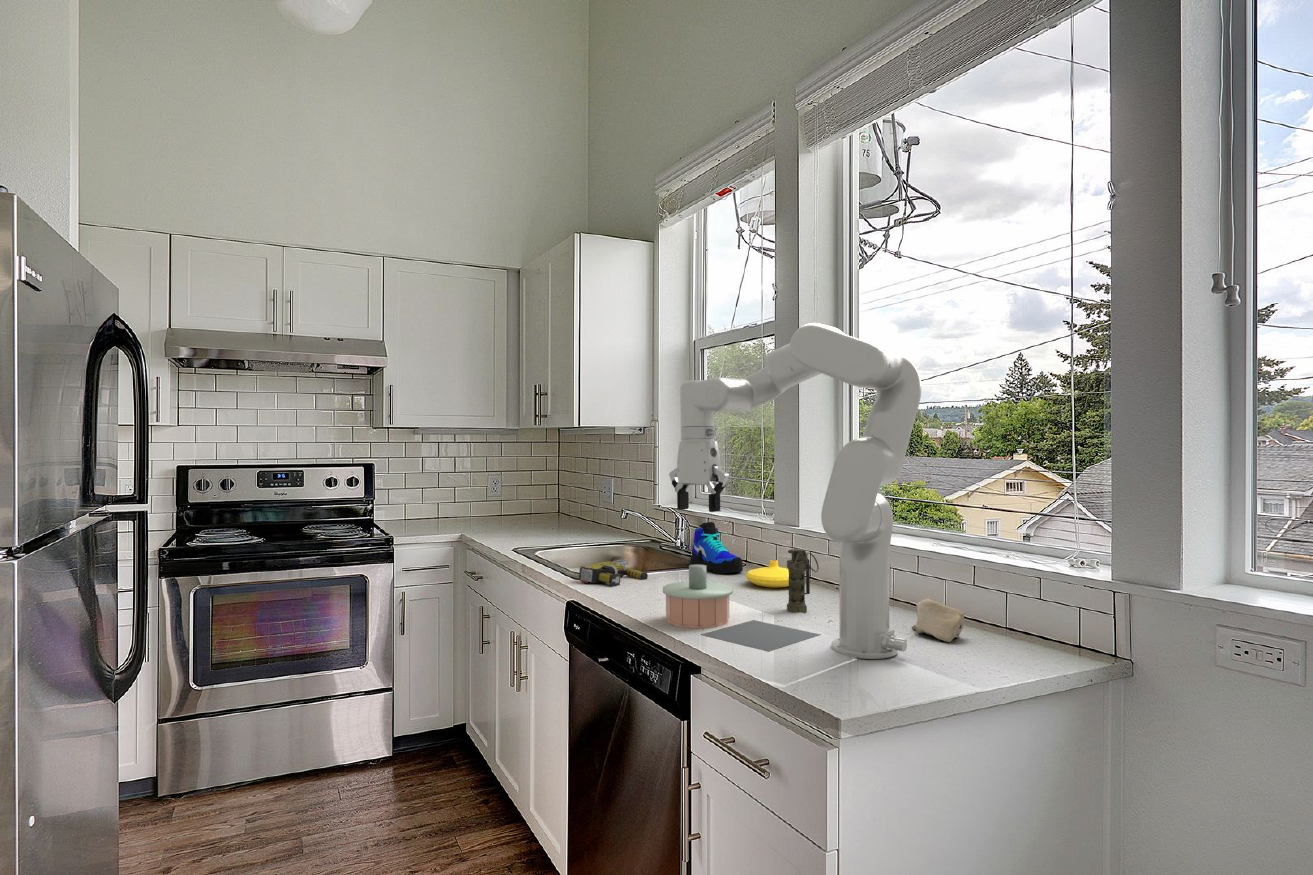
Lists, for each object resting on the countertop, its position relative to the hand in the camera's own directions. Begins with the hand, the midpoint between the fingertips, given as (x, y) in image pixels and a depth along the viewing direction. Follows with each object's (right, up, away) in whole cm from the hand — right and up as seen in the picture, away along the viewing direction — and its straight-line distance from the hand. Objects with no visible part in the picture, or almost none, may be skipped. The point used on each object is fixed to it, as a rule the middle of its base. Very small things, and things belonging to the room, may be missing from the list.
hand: (698, 510), depth 177 cm
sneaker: (+9, -25, +68) cm, 74 cm away
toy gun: (-20, -26, +54) cm, 63 cm away
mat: (+12, -26, -12) cm, 31 cm away
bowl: (0, -26, 0) cm, 26 cm away
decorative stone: (+49, -26, -12) cm, 57 cm away
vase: (+24, -26, +43) cm, 55 cm away
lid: (0, -19, 0) cm, 19 cm away
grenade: (+25, -26, +10) cm, 37 cm away
